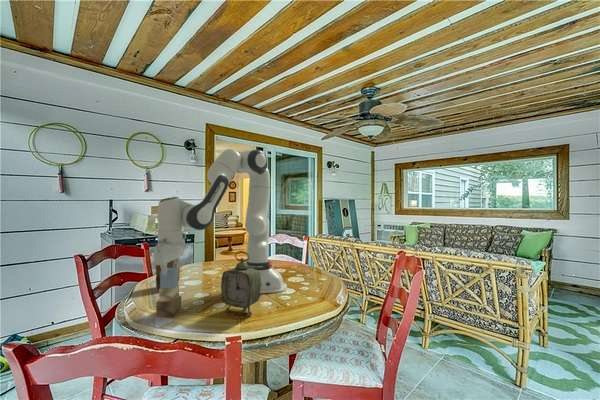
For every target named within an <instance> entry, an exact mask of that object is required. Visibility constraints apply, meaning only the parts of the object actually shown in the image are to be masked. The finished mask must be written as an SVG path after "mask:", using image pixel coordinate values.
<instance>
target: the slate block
mask: <svg viewBox="0 0 600 400" xmlns="http://www.w3.org/2000/svg"><path fill="white" fill-rule="evenodd" d="M167 269H168V274H166V275H162V270H161V271H160V288H159V289H170V288H174V287H176V286H177V285H179V283H178V268H167Z"/></svg>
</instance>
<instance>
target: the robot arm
mask: <svg viewBox="0 0 600 400" xmlns="http://www.w3.org/2000/svg"><path fill="white" fill-rule="evenodd" d="M267 167H268V158H267V156H266V153H265V152H264V151H262V150H260V149H248V150H244V151H243V150H242V151H237V150H235V149H233V148H228V149H227V148H226V149H224V151H222V153H221V154H219V155H218V157H217V158H215V160H214V161H213V163H212V164H211V166H210V167H209V168H208V170H207V173H206V178H207V181H208V183H210V187H209V189H208V191H207V192H206V193H205V195H204V197H203V199H202V200H201V201H200V202H198V203H197V204H191V203H189V202H187V201H184V200H182V199H181V198H180V197H177V196H172V197H166V198H163V199H161V200H159V202H158V205H157V222H158V226H157V243H156V245H155V247H154V252H153V263H154V265H155V266H156V265H160V267H161V270H162V275H166V274H168V269H167V263H168V262H170V261H172V260H174V264H173V268H178V264H179V260H181V257H183V256H184V254H185V250H186V249H185V248H186V241H185V240H186V239H187V236H186V233H184V232H183V231H182V230H183V229H182V228H183V227H187V228H189V229H190V228H191V229H194V230H197V231H203V230H206V229H208V228H209V227H210V226H211V225H212V223H213V222H214V219H215V213H216V209H217V208H218V206H219V204H220V202H221V200H222V199H223V197H224V195H225V193H227V190H228V187H229V185H230V183H231V181H232V180H233V178H234V177H235V175H236V174H237V173H239V174H243V173H244V174H247V175H248V176H249V182H248V183H249V184H248V196H247V197H248V200H247V206H246V207H247V209H246V216H245V221H244V222H245V223H244V228H245V230H246V232H247V233H248V235H247V237H248V238H247V246H246V253H247V254H248V255H249V260H248V261H245V263H247V265H248V267H249V268H253V269H256V270H258V271H259V272H260V276H261V293H260V294H267V293H269V294H270V293H271V294H273V293H283V292H286V291H287V288H288V285H287V283H286V282H284V280H283V277H282V274H281V273H279V272H278V271H277V270H276V269H274V268H273V261H271V260H269V244H270V243H269V241H270V219H269V217H268V216H269V208H270V202H271V201H270V200H271V176H270V174H271V173H270V170H269V169H268V168H267ZM247 259H248V256H247V255H246V260H247Z"/></svg>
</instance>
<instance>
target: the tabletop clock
mask: <svg viewBox="0 0 600 400" xmlns="http://www.w3.org/2000/svg"><path fill="white" fill-rule="evenodd" d="M238 254H245V255H246V257H247V256H248V259H247V258H246V259H244V258H243V257H240V258H237V255H238ZM234 258H235V259H236V261H238V262H237V264H236V266H235V267H233V268H231V269H227V270H225V271H223V273H222V275H221V285H220V289H221V290H220V291H221V292H220V293H221V298H222V302H223V303H224V304H225V305H228V306H227V307H226V308H225V312H227V313H228V312H230V308H231V307H233V308H241V309H242V310H244V311H247V317H251V316H252V312H251V311H250V308H251V307H250V306H253V305H254V304H256V303H257V302H259V300H260V298H261V294H262V293H261V276H260V272H259V271H258V270H256V269H253V268H249V267H248V265H247V263H246V261H248V260H249V255H248V254H247V251H243V250H241V251H237V252H236V253H235V254H234Z"/></svg>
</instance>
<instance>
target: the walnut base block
mask: <svg viewBox="0 0 600 400" xmlns="http://www.w3.org/2000/svg"><path fill="white" fill-rule="evenodd" d="M155 304H156V305H155V309H156V310H155V313H156V315H155V317H156V318H175V317H176V316H177V315H178V314H179V313H180V312H181V311H182V295H179V297H178V298H177V299H176V300H175V301H173V302H159V300H158V301H156V303H155ZM180 310H181V311H180ZM179 311H180V312H179ZM178 312H179V313H178ZM177 313H178V314H177ZM176 314H177V315H176ZM175 315H176V316H175ZM174 316H175V317H174Z"/></svg>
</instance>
